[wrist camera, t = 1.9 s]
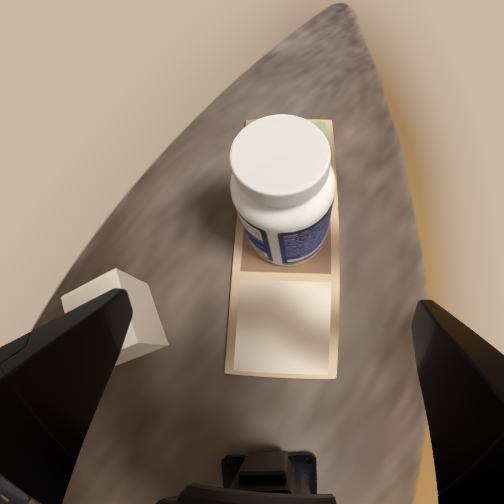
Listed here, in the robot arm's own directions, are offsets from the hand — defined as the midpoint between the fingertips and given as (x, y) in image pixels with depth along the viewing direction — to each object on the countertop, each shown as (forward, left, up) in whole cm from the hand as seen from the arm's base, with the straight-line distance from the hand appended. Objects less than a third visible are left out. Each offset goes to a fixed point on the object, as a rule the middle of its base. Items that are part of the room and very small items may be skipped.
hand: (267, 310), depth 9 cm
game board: (+7, -1, -13) cm, 15 cm away
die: (+1, +11, -13) cm, 17 cm away
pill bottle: (+7, -1, -13) cm, 15 cm away
